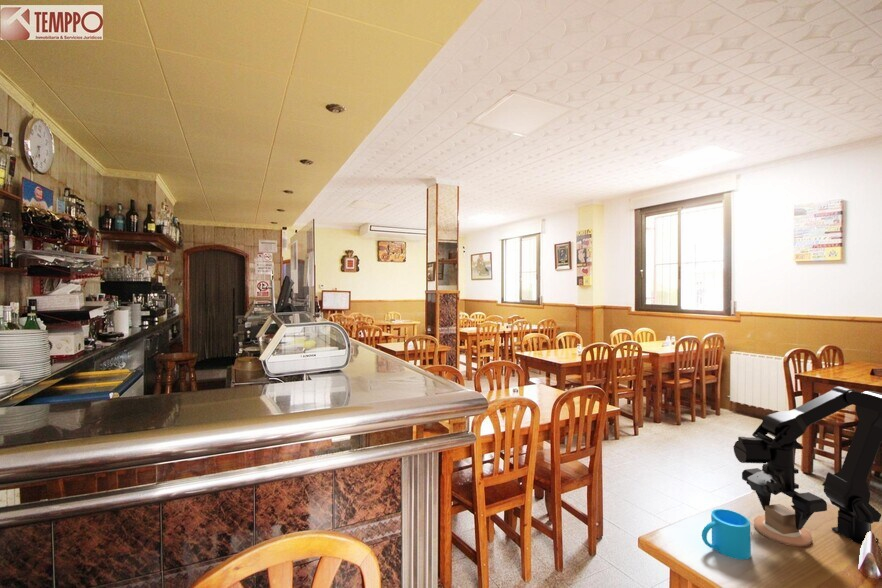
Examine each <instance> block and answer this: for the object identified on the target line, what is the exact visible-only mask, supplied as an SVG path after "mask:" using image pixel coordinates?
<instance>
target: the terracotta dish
mask: <svg viewBox="0 0 882 588" xmlns="http://www.w3.org/2000/svg"><path fill="white" fill-rule="evenodd" d="M753 527H754V529H755V530H756V531H757V532H759V534H761V535H762V536H764V537H766V538H768V539H770V540H772V541H773V542H777V543H779V544H783V545H787V546H792V547H798V548H799V547H807V546H811V544H812V542H813V537H812V534H811V532H810V531H809V530H808V529H807V528H805V527H804V526H803V528H802V529H801V530H799V532H796V533H789V534H782V533H780V532H779V531H777V530H775V529H774V528H772V527H770V526H769V525H767V524H765V514H764V515H763V514H762V515H757V516H756V517H754V518H753Z"/></svg>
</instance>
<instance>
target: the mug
mask: <svg viewBox="0 0 882 588" xmlns="http://www.w3.org/2000/svg"><path fill="white" fill-rule="evenodd" d="M710 517H711V518H710V519H711V521H710V522H709V523H707V524H706V525H705V526H704V527H703V530H702V531H701V539H702V541H703V543H704V544H705V545H706V546H708V547H709V548H711V549H713V550H716V551H717V552H718V553H720V554H721V555H723V556H726V557H728V558H731V559H735V558H736V559H735V560H747V559H750V558H751V555H752V550H751V549H752V547H751V546H752V545H751V520H750V518H748V517H746V515H743V514H741V513H739V512H737V511H734V510H730V509H724V508H716V509H713V510H712V511H711V514H710ZM710 530H711V543H710V542H709V540H708V533H709V532H710Z"/></svg>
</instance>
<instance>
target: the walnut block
mask: <svg viewBox="0 0 882 588" xmlns="http://www.w3.org/2000/svg"><path fill="white" fill-rule="evenodd" d="M764 515H765V524H767V525H769V526H770V527H772V528H774V529H775V530H777V531H779V532H780V533H782V534H789V533H796V532H799V530H798V529H796V523H795V510H794V509H792V508H789V507H787V506H786V505H784V504H781V503H775V504H770V505H766V506H765V511H764Z"/></svg>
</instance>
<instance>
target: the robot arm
mask: <svg viewBox="0 0 882 588" xmlns="http://www.w3.org/2000/svg"><path fill="white" fill-rule="evenodd" d="M853 405H854V406H855V409H854V410H855V412H856V413H855V414H856V416H857V420H858V422H857V425H856V428H855V431H854V434H853V436H852V439H851V442H850V444H849V447H848V450H847V452H846V455H845V458H844V461H843V463H842V465H841V468H840V470H839V471H837V472H835V473H832V472H827V474H826V475H825V480H824V481H823V483H822V484H821V485H822V486H823V493H824V494H825V495H826V497H827V498H828V499H829V501H830V503H831V504H832V505H833V506H835V507H836V508H838V510H837V517H836V518H837V521H836V522H837V526H834V527H831V530H832V531H834V532H835V533H837V534H839V535H841V536H843V537H845V538H847V539H848V540H850V541H852V542H854V543H856V544H857V545H858V544H859V545H862V544H861V543H862V541H863V540H864V538H865V535H866V533H867V532H869V531H871V532H872V524H873V523H880V520H881V518H882V514H881V513H880V512H879V511H878V510H877V509H876V508H874V507H873V506H872V505H871V504H870V501H871V500H870V499H871V492H870V489H869V485H868V479H869V475H870V473H871V470H872V467H873V465H874V462H875V460H876V457H877V454H878V451H879V450H880V446H881V443H882V392H877V391H873V390H865V391H863V392H862V391H858V390H855V389H851V388H848V387H844V386H838V385H837V386H835V387H832V388H831V390H829V391H827V392H826V393H823V394H821V395H819V396H818V397H815V398H814V399H812V400H809V401H807V402H805V403H803V404H801V405H800V406H797V407H795V408H793V409H790V410H781V411H777V412H776V411H775V412H774V413H770V414H767V415H765V416H764V417H763V418H762V419H761V420H762V422H761V423H760V424H759V426H758V427H757V428H756V430H754V432H753V433H752V437H747V436H746V437H745V436H738V437H737V441H735V443H734V445H733V453H734V456H735V458H736V459H737V461H739V463H741V464H762V466H761V467H762V468H761V469H760V468H758V467H757V468H746V469H744V470H742V472H741V479H742V480H743V481H745V482H746V484H747V485H749V486H750V489H751V490H752V491H754V492H755V493H756V495H757V498H758V500H759V502H760V505H761V508H762V510H763V511H764V512H765V506H766V505H771V504H770V503H771V497H772V494H773V495H774V496H776V495H778V494H780V493H781V494H784V495H786V496H788V497H789V498H791V503H792V505H790V507H791V509H792V510H793V511H795V523H796V529H798V530H801V529H802V528H803V527H804V526H805V524H806V523H807V522H808V520H809V519H810V518H811V516H813V515H814V514H815V513H820V512H826V511H828V503H827V502H826V500H824V498H822V497H821V496H818V495H815V494H814V493H811V492H798V491H796V489H798V490H799V488H800V485H799V484H798V483H796V482H795V479H796V478H795V474H796V475H798V474H799V473H800V472H799V469H798V468H796V467H795V450H804V446H803V445H801V444H800V443H799V442H798V441H797V439H798V438H800V437H801V436H803V435H804V434H805V432H806V431H807V429H808V427H810V426H811V425H813V424H815V423H817V422H819V421H822V420H823V419H825V418H828V417H829V416H831V415H833V414H835V413H838V412H839V411H842V410H844V409H846V408H848V407H850V406H853ZM768 435H769V436H768ZM771 436H772V437H771ZM876 540H877V542H879V538H877V537H876Z"/></svg>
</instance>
